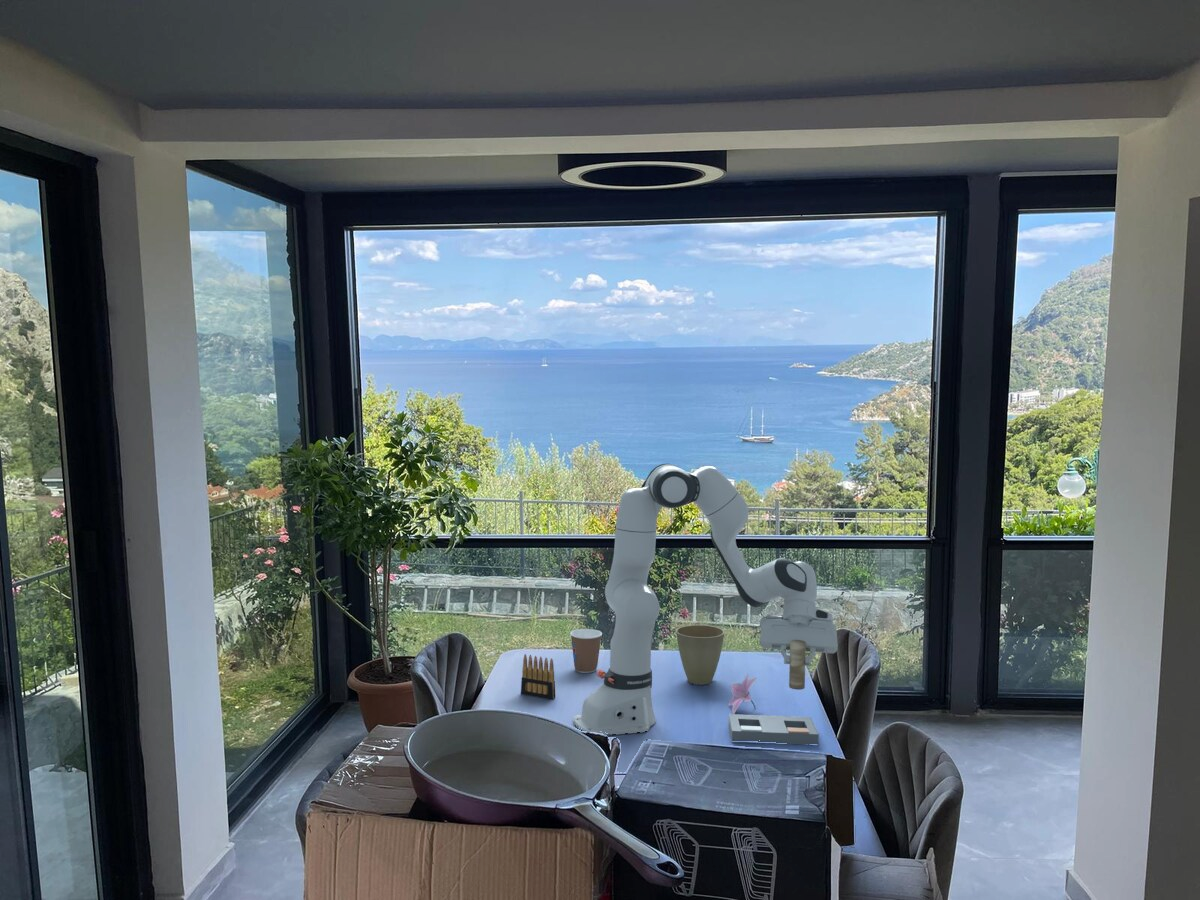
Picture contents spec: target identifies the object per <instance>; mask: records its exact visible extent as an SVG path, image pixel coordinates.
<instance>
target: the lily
mask: <svg viewBox="0 0 1200 900" xmlns="http://www.w3.org/2000/svg"><path fill="white" fill-rule="evenodd" d="M749 675H750V674H749V673H747V674H746V676H744V679H743V681H742V682H741V683H740V682H734V683H731V685H730V691H731V694H732V695H733V697H732V698H731V699H730V700H729V702H728V704H727V707H730V706H732V710H731V711H732V714H736V712H737V710H738V708H739V706H740V705H741V704H742V702H745V703H746V702H747V703H748V702H751V704H753V707H754V708H755V707H756V705H755V703H754V702H753V700H752V697H751V694H750V689H751V687H752V686H753V685H754V683H755V682H756V680H757V679H758V678H757V677H752V678H750V679H749Z"/></svg>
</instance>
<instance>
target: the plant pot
mask: <svg viewBox="0 0 1200 900" xmlns="http://www.w3.org/2000/svg"><path fill="white" fill-rule="evenodd" d="M675 631H676V632H675V633H676V639H677V647H678V652H679V655H680V661H681V665H682V667H683V671H684V672H685V673H684V674H685V676H686V680H687V682H688V683H690V684H692V683H693V685H697V684H699V685H700V686H701V685H702V686H703V685H708V684H711V683H712V682H713V680H714V678H715V677H714V676H715V674H716V671H717V667H718V664H719V662H720V658H721V653H722V649H723V645H724V638H725V631H724V629H722V628H720V627H718V626H713V625H705V624H689V625H684V626H680V627H678V628H676V630H675Z"/></svg>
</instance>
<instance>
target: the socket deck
mask: <svg viewBox="0 0 1200 900" xmlns="http://www.w3.org/2000/svg"><path fill="white" fill-rule="evenodd" d="M728 729H729V733H730V734H731V735H730V739H731V738H732V740H731V742H732V741H758V742H776V743H787V744H802V745H801V746H804V745H803V744H808V745H807V746H810V745H809V744H819V743H820V741H819V740H820V737H819V736H820V734H819V731H818V729H817V727H816V725H815V723H814V721H813V719H812V717H811V716H793V715H792V716H790V715H789V716H788V715H785V716H784V715H767V714H765V715H762V714H759V715H758V714H736V713H735V714H733V713H728ZM759 740H760V741H759ZM735 743H738V744H739V742H735ZM787 744H786V745H787ZM819 745H820V744H819Z"/></svg>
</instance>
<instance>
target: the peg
mask: <svg viewBox="0 0 1200 900" xmlns="http://www.w3.org/2000/svg"><path fill="white" fill-rule="evenodd" d="M806 652H807V651H806V642H805V641H802V640H791V641H790V650H789V656H790V664H789V674H788V675H789V676H788V677H789V679H788V687H789V688H790V689H792V690H797V691H798V690H799V691H800V690H804V689H805V688H806V684H805V683H806V665H805V657H807V656H806V654H807V653H806Z"/></svg>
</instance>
